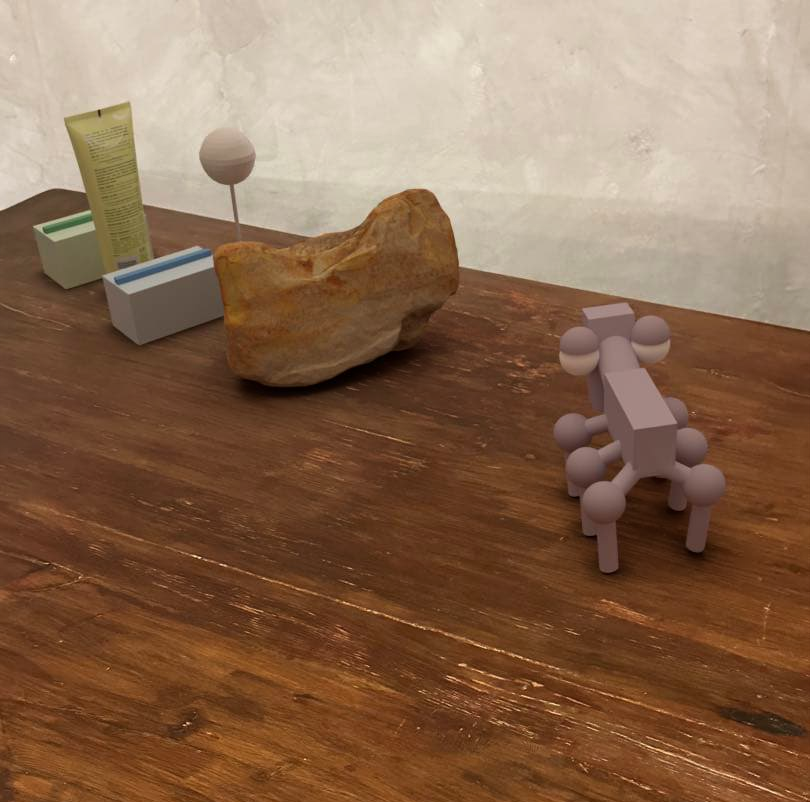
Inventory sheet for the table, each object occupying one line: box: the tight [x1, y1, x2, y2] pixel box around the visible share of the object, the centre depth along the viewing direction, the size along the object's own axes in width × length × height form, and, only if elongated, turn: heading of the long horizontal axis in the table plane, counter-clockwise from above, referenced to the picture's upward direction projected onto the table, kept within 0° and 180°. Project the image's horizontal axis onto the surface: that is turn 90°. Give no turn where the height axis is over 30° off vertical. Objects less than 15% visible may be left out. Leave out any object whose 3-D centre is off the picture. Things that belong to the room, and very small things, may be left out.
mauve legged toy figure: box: [552, 301, 727, 574], centre depth 85 cm, size 20×11×14 cm, turn 6°
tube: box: [63, 100, 151, 274], centre depth 118 cm, size 6×5×20 cm
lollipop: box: [198, 127, 257, 242], centre depth 124 cm, size 6×6×15 cm
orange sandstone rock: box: [212, 188, 461, 388], centre depth 107 cm, size 23×17×15 cm
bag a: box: [101, 245, 224, 346], centre depth 115 cm, size 11×6×6 cm, turn 127°
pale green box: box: [32, 209, 155, 290], centre depth 127 cm, size 11×6×6 cm, turn 127°
